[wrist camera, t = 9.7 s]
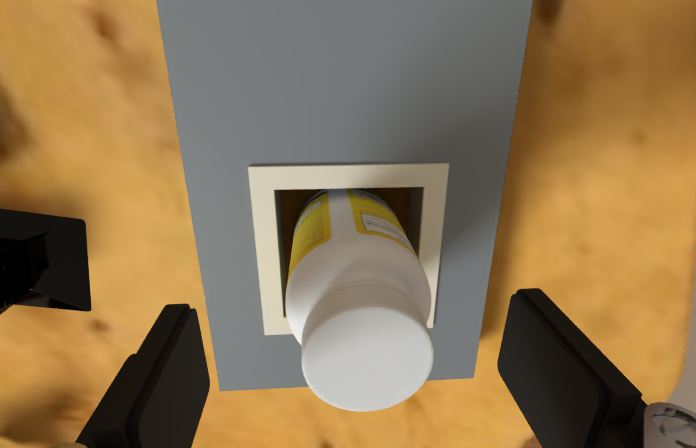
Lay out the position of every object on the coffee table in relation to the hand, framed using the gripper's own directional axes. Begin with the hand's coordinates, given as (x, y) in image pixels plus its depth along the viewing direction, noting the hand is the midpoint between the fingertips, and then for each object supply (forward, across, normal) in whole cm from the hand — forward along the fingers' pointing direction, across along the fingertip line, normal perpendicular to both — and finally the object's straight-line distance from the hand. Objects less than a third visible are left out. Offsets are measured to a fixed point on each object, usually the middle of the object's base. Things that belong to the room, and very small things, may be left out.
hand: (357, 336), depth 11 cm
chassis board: (+9, 0, -1) cm, 9 cm away
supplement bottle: (+10, 0, +1) cm, 10 cm away
